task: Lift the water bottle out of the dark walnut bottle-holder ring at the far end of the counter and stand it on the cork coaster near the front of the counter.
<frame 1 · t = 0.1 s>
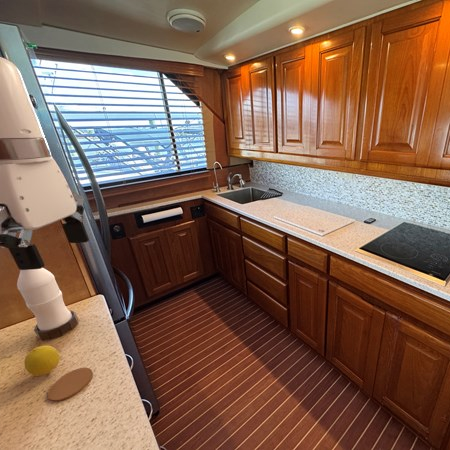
hand: (58, 253, 41), 35 cm above the countertop, tool pointing down, fingers open, 9 cm apart
cork coaster: (71, 384, 56), on the countertop
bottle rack: (59, 328, 72), on the countertop
water bottle: (59, 329, 72), resting in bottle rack
lemon: (49, 372, 59), on the countertop
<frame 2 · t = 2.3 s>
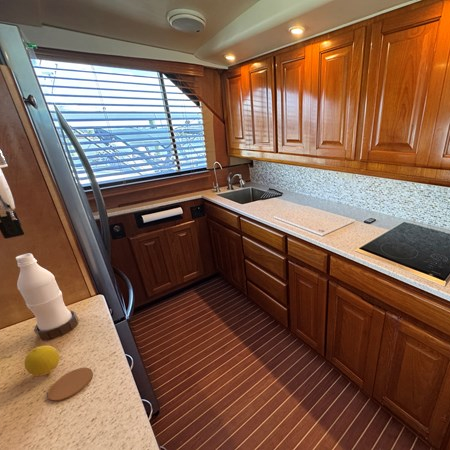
hand: (13, 231, 59), 32 cm above the countertop, tool pointing down, fingers open, 9 cm apart
nothing on the countertop moved.
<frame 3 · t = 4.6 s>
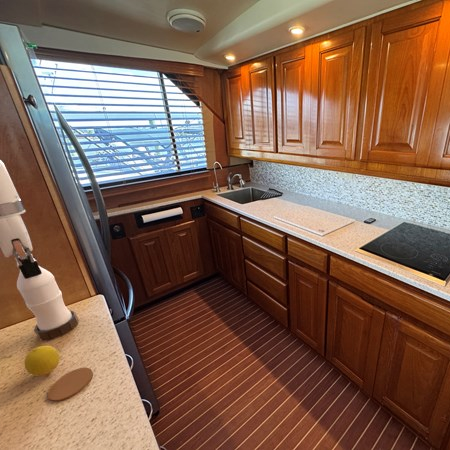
hand: (32, 272, 65), 20 cm above the countertop, tool pointing down, fingers closed on water bottle, 4 cm apart
water bottle: (59, 328, 72), resting in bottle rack, touching gripper
everything else where it was.
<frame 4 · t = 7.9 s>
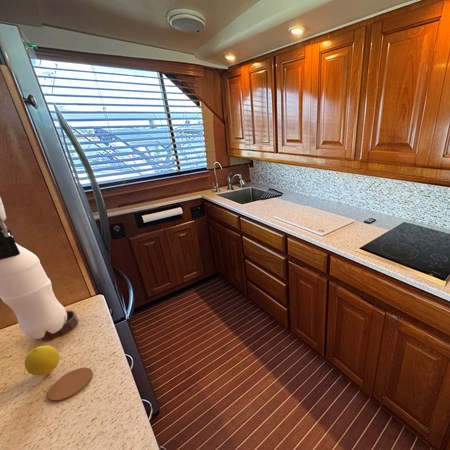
hand: (7, 252, 47), 33 cm above the countertop, tool pointing down, fingers closed on water bottle, 4 cm apart
water bottle: (50, 329, 54), point 13 cm above the countertop, touching gripper
everything else where it was.
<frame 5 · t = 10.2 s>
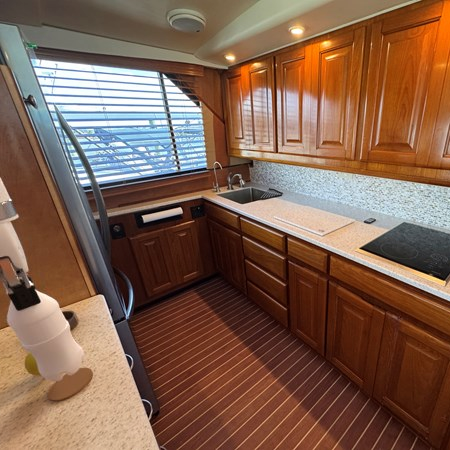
hand: (27, 300, 47), 24 cm above the countertop, tool pointing down, fingers closed on water bottle, 4 cm apart
water bottle: (68, 370, 55), point 4 cm above the countertop, touching gripper
everything else where it was.
when the fingers open (20 cm above the countertop, at t = 11.5 s): water bottle stays where it is, resting on cork coaster.
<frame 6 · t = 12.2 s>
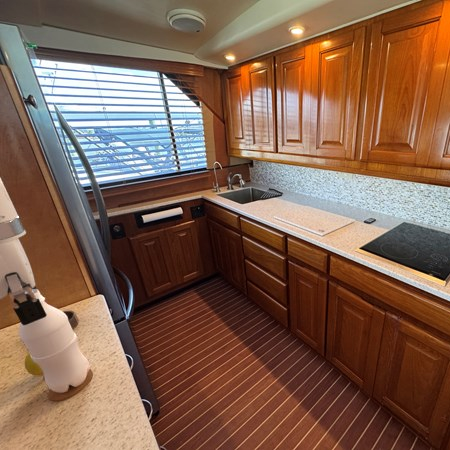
hand: (32, 309, 48), 22 cm above the countertop, tool pointing down, fingers open, 9 cm apart
water bottle: (73, 381, 56), resting on cork coaster
everything else where it was.
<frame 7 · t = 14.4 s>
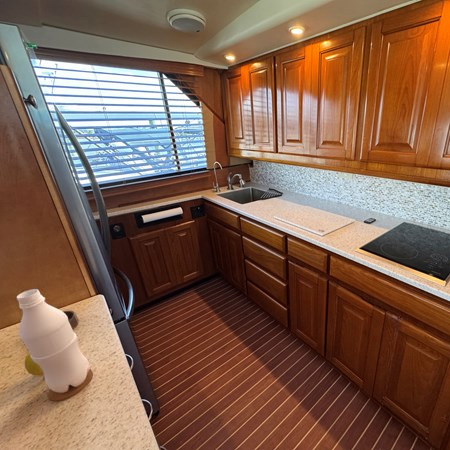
nothing on the countertop moved.
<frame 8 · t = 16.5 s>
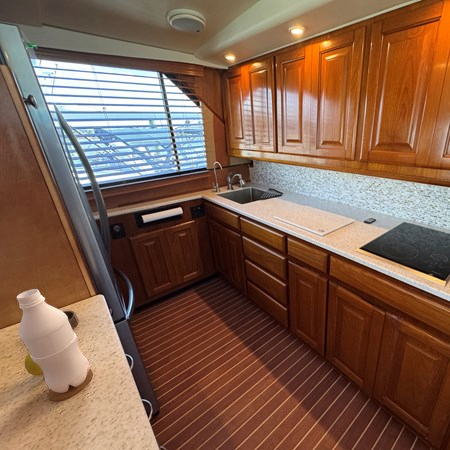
nothing on the countertop moved.
at the end: water bottle 0.4 cm off-centre on the cork coaster, point 0.3 cm above the cork coaster's base; water bottle tilted 0°; water bottle touching cork coaster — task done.
